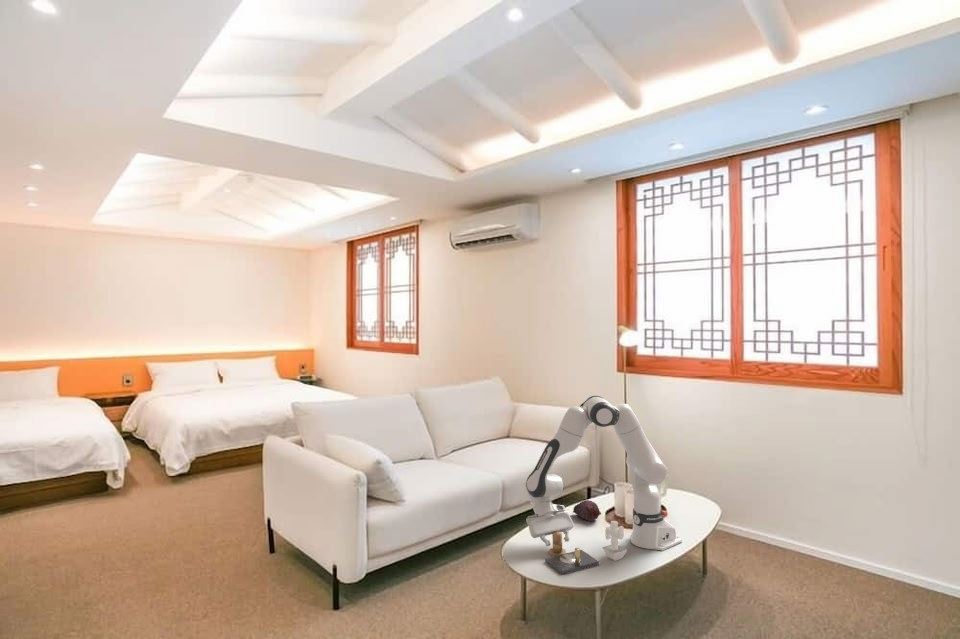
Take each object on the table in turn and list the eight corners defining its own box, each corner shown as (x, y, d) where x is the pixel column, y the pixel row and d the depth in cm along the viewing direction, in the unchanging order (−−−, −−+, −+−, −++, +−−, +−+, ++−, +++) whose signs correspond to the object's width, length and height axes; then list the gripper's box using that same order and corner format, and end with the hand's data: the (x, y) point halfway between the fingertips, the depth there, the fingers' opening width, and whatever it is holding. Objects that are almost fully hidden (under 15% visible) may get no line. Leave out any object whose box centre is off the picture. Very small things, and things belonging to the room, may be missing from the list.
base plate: (581, 553, 224) (581, 549, 224) (599, 565, 214) (598, 561, 213) (545, 562, 217) (544, 558, 217) (561, 574, 206) (561, 570, 206)
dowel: (578, 562, 213) (577, 547, 213) (581, 564, 211) (580, 549, 211) (573, 563, 212) (573, 548, 212) (576, 565, 210) (576, 550, 210)
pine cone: (565, 517, 264) (569, 497, 269) (579, 523, 268) (582, 503, 273) (592, 517, 251) (595, 496, 256) (606, 524, 255) (609, 503, 260)
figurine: (613, 551, 226) (612, 516, 226) (629, 559, 218) (628, 523, 217) (600, 555, 222) (599, 519, 222) (616, 564, 214) (615, 527, 214)
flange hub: (559, 548, 229) (559, 529, 229) (569, 555, 223) (568, 534, 223) (546, 551, 226) (545, 532, 226) (555, 558, 220) (554, 538, 220)
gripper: (527, 513, 227) (539, 544, 218) (567, 505, 235) (580, 535, 226) (522, 520, 231) (534, 551, 222) (561, 512, 239) (574, 541, 230)
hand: (558, 543), depth 224 cm, fingers open, 8 cm apart
